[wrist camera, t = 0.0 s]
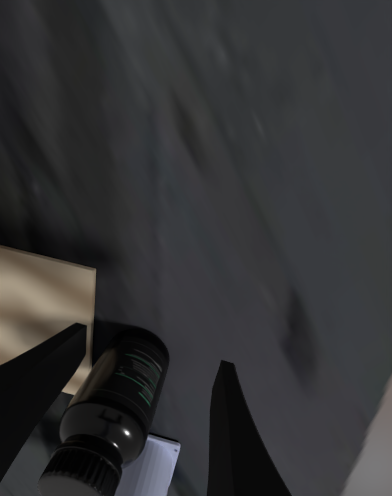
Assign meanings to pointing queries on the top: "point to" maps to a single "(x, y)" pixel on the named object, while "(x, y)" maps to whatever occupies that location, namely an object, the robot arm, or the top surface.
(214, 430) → the robot arm
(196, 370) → the top surface
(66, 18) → the top surface
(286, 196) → the top surface
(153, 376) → the supplement bottle
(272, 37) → the top surface
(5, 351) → the tan paper sheet
